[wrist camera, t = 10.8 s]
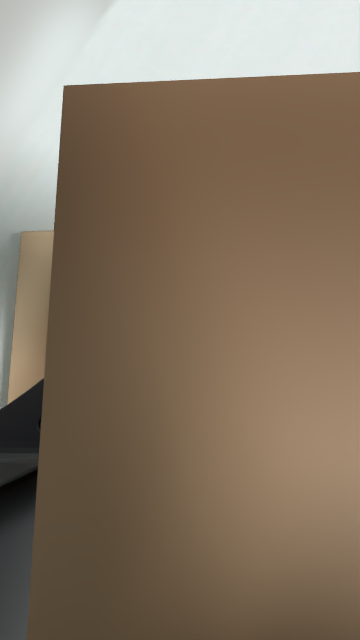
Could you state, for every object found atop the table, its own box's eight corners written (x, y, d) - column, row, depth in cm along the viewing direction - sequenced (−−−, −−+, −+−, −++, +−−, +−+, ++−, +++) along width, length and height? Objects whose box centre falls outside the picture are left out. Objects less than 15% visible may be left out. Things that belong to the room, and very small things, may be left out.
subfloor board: (398, 230, 19) (412, 221, 18) (438, 529, 16) (456, 541, 15) (31, 240, 20) (21, 231, 19) (10, 524, 17) (-4, 535, 16)
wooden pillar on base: (273, 424, 15) (781, 713, 2) (167, 424, 15) (1, 684, 2) (267, 319, 16) (595, 46, 3) (167, 320, 16) (48, 72, 3)
